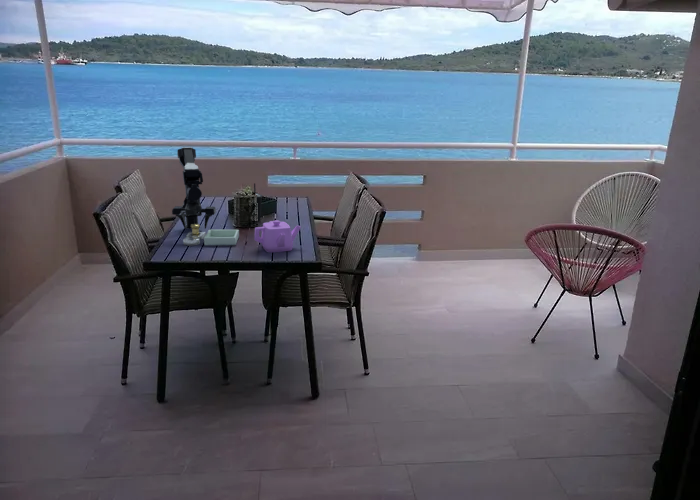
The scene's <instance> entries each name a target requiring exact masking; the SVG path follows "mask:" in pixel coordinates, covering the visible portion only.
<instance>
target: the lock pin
mask: <svg viewBox="0 0 700 500" xmlns="http://www.w3.org/2000/svg"><path fill="white" fill-rule="evenodd" d="M200 227H201V225H200V224H199V223H198V224H191V228H192V229H191V232H192V234H193V235H199V232H200Z"/></svg>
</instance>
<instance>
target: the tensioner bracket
mask: <svg viewBox="0 0 700 500" xmlns="http://www.w3.org/2000/svg"><path fill="white" fill-rule="evenodd" d="M206 234H207V233H206V231H199V235H193V234H192V231H188V233H187V234H186V236H185V238H183V239H182V241H183V242H182V243H183V244H182V245H184V246H187V247H188V246H189V247H194V246H198V245H200V240H203V241H204V237H205V236H206Z"/></svg>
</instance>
